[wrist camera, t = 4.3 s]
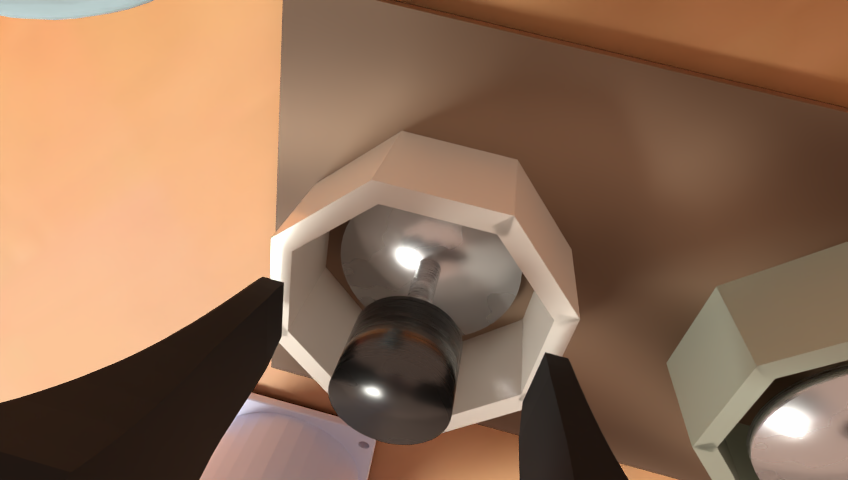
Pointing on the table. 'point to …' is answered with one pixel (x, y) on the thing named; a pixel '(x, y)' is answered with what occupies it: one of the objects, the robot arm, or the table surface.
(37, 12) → the cup
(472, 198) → the housing
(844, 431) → the plunger
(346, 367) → the plunger
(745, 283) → the housing
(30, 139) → the table surface
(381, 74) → the board
